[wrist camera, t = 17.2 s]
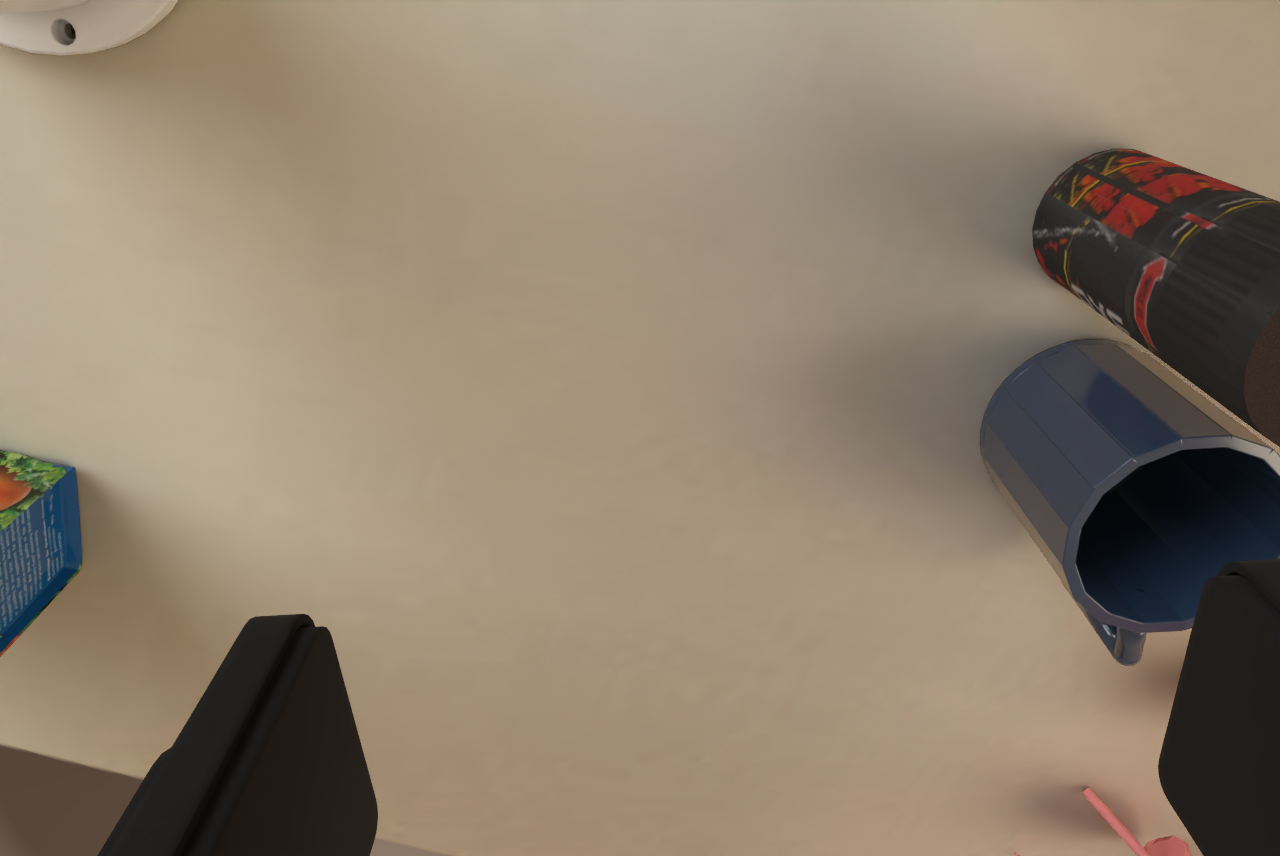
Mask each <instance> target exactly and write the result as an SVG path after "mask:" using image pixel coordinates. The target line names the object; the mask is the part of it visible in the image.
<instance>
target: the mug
mask: <svg viewBox="0 0 1280 856" xmlns="http://www.w3.org/2000/svg"><path fill="white" fill-rule="evenodd" d="M980 449H981V455H982V458H983V462H984V465H985V467H986V469H987V471H988V473H989V474H990V476H991V478H992V481H993V483H994V485H995V486H996V487H997V489H998V490H999V492H1000V493H1001V495H1002V496H1003V497H1004V499H1005V500H1006V502H1007V503H1008V505H1009V506H1010V508H1011V509H1012V510H1013V512H1014V513H1015V515H1016V516H1017V518H1018V519H1019V520H1020V522H1021V523H1022V525H1023V526H1024V528H1025V529H1026V530H1027V532H1028V533H1029V535H1030V536H1031V538H1032V539H1033V541H1034V542H1035V543H1036V545H1037V546H1038V548H1039V549H1040V551H1041V552H1042V553H1043V555H1044V556H1045V558H1046V559H1047V561H1048V562H1049V563H1050V565H1051V566H1052V568H1053V569H1054V571H1055V572H1056V574H1057V575H1058V576H1059V578H1060V579H1061V581H1062V583H1063V585H1064V586H1065V588H1066V589H1067V591H1068V592H1069V594H1070V595H1071V597H1072V598H1073V599H1074V601H1075V602H1076V604H1077V605H1078V607H1079V608H1080V609H1081V611H1082V612H1083V614H1084V615H1085V617H1086V618H1087V620H1088V621H1089V622H1090V624H1091V625H1092V627H1093V628H1094V630H1095V631H1096V632H1097V634H1098V635H1099V637H1100V638H1101V640H1102V641H1103V643H1104V644H1105V645H1106V647H1107V648H1108V650H1109V651H1110V653H1111V654H1112V656H1113V657H1114V658H1115V660H1116V661H1117V662H1118V663H1120V664H1122V665H1125V666H1132V665H1135V664H1137V663H1138V662H1139V661H1140V659H1141V656H1142V652H1143V647H1144V643H1145V639H1146V634H1147V633H1150V632H1168V631H1182V630H1187V629H1190V628H1192V627H1193V623H1194V619H1195V615H1196V611H1197V608H1198V604H1199V600H1200V596H1201V592H1202V588H1203V586H1204V583H1205V582H1206V581H1207V580H1208V579H1209V578H1211V577H1214V576H1217V574H1218V572H1219V570H1220V569H1221V568H1222V566H1223V565H1224V564H1226V563H1229V562H1233V561H1251V560H1269V559H1280V455H1279V454H1278V453H1277V452H1276V451H1275V450H1274V449H1273V448H1271V447H1270V446H1269V445H1267V444H1266V443H1265V442H1263V441H1262V440H1261V439H1259V438H1258V437H1257V436H1255V435H1254V434H1253V433H1251V432H1250V431H1249V430H1247V429H1246V428H1245V427H1243V426H1242V425H1241V424H1240V423H1238V422H1237V421H1236V420H1234V419H1233V418H1232V417H1230V416H1229V415H1228V414H1226V413H1225V412H1224V411H1222V410H1221V409H1220V408H1218V407H1217V406H1216V405H1214V404H1213V403H1212V402H1210V401H1209V400H1208V399H1206V398H1205V397H1204V396H1202V395H1201V394H1200V393H1198V392H1197V391H1196V390H1194V389H1193V388H1192V387H1190V386H1189V385H1188V384H1186V383H1185V382H1184V381H1182V380H1181V379H1180V378H1178V377H1177V376H1176V375H1174V374H1173V373H1172V372H1170V371H1169V370H1168V369H1166V368H1165V367H1164V366H1162V365H1161V364H1160V363H1158V362H1157V361H1156V360H1154V359H1153V358H1152V357H1150V356H1149V355H1147V354H1145V353H1142V352H1140V351H1139V350H1137V349H1135V348H1133V347H1131V346H1128V345H1126V344H1123V343H1119V342H1116V341H1110V340H1102V339H1087V340H1079V341H1073V342H1068V343H1064V344H1061V345H1058V346H1055V347H1052V348H1050V349H1047V350H1045V351H1043V352H1041V353H1039V354H1037V355H1035V356H1034V357H1032V358H1031V359H1029V360H1027V361H1026V362H1025V363H1023V364H1022V365H1021V366H1019V367H1018V368H1017V369H1016V370H1015V371H1014V372H1012V373H1011V374H1010V375H1009V376H1008V377H1007V378H1006V379H1005V381H1004V382H1003V383H1002V384H1001V386H1000V387H999V388H998V389H997V391H996V392H995V394H994V396H993V397H992V399H991V400H990V403H989V405H988V407H987V409H986V411H985V414H984V417H983V420H982V425H981V431H980Z"/></svg>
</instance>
